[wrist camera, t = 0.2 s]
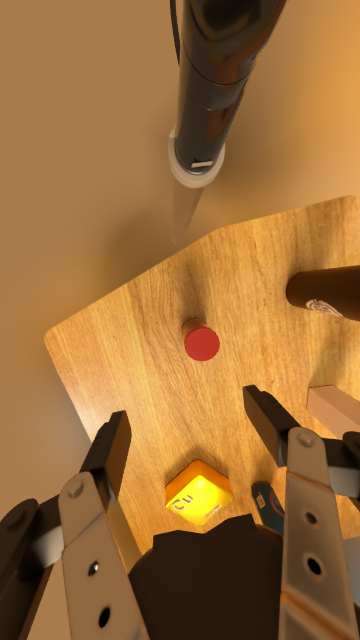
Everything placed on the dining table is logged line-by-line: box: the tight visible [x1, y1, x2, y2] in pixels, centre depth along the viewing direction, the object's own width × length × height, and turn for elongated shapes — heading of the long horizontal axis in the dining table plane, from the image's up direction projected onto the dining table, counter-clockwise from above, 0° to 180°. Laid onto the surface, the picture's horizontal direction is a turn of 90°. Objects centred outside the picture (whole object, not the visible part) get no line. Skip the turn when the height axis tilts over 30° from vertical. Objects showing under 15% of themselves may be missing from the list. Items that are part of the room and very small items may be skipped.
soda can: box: [252, 482, 285, 537], centre depth 49 cm, size 7×7×12 cm
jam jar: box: [182, 318, 208, 340], centre depth 37 cm, size 6×6×10 cm
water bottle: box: [286, 265, 360, 321], centre depth 30 cm, size 10×10×23 cm
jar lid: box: [184, 326, 220, 361], centre depth 33 cm, size 6×6×2 cm
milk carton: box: [307, 385, 360, 440], centre depth 39 cm, size 7×7×19 cm
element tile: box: [165, 460, 233, 526], centre depth 50 cm, size 15×15×5 cm
